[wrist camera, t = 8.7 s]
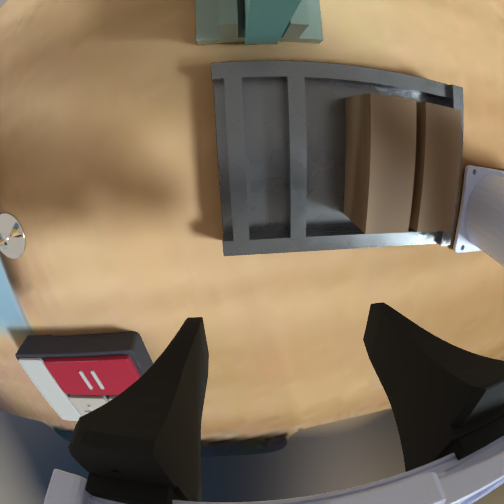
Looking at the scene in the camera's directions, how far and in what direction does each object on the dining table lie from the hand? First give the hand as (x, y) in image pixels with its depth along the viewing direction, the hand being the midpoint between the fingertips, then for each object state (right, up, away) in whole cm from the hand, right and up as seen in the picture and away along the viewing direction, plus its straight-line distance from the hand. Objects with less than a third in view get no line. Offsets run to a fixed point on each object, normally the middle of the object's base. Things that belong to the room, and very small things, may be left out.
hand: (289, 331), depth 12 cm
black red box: (-18, -10, +15) cm, 26 cm away
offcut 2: (+10, +10, +6) cm, 15 cm away
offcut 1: (+6, +10, +6) cm, 13 cm away
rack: (+4, +10, +7) cm, 13 cm away
